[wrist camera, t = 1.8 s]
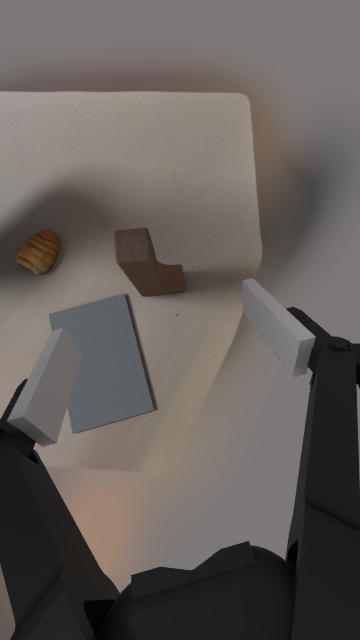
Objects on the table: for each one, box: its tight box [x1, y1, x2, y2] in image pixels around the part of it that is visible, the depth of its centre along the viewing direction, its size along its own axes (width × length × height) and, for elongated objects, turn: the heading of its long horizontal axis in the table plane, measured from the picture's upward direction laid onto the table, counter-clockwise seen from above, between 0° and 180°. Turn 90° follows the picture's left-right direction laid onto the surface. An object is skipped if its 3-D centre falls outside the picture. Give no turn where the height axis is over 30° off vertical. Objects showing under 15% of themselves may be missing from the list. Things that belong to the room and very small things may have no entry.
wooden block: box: [114, 228, 184, 296], centre depth 36 cm, size 9×4×18 cm, turn 96°
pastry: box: [15, 230, 59, 275], centre depth 44 cm, size 9×7×4 cm
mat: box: [49, 294, 154, 434], centre depth 42 cm, size 24×16×1 cm, turn 16°
